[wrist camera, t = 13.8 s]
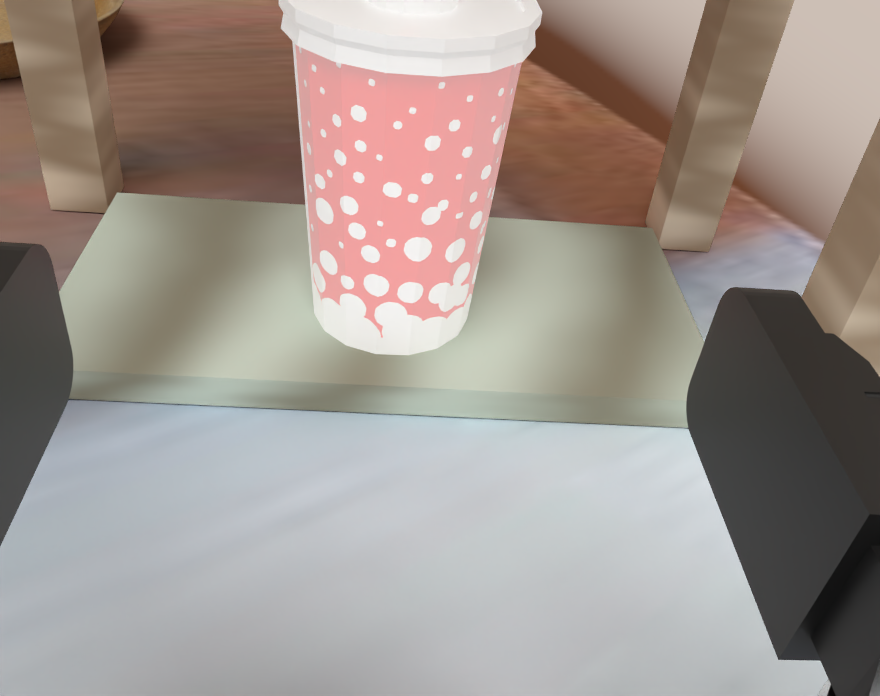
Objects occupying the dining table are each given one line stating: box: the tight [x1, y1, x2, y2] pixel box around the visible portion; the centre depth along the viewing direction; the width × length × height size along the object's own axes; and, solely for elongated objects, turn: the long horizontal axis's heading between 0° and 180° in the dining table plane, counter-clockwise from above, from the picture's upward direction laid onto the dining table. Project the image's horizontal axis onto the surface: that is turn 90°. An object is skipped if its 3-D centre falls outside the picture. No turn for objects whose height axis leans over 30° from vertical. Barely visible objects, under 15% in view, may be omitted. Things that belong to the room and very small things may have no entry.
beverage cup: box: [279, 0, 542, 355], centre depth 21 cm, size 6×6×14 cm
